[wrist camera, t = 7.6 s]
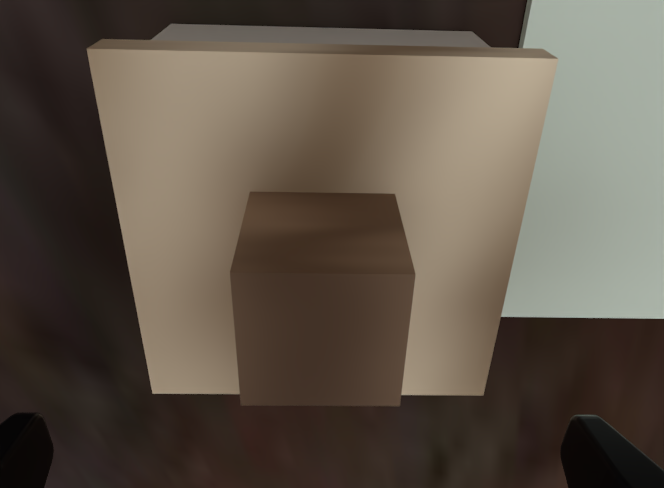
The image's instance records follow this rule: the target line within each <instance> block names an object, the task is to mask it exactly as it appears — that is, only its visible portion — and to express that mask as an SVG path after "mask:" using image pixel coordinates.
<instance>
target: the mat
mask: <svg viewBox="0 0 664 488" xmlns="http://www.w3.org/2000/svg"><path fill="white" fill-rule="evenodd" d="M519 48H536V49H544V50H546V51H547V52H549V53H550V54H552V55H553V56H555V57H556V58H558V63H557V68H556V72H555V77H554V81H553V86H552V90H551V95H550V99H549V104H548V108H547V112H546V117H545V121H544V126H543V130H542V135H541V139H540V144H539V148H538V153H537V157H536V162H535V166H534V171H533V175H532V180H531V184H530V189H529V193H528V198H527V202H526V206H525V211H524V215H523V220H522V224H521V229H520V233H519V238H518V242H517V247H516V251H515V256H514V260H513V265H512V269H511V274H510V278H509V283H508V287H507V292H506V296H505V301H504V305H503V309H502V314H501V317H566V318H654V319H664V0H527V5H526V10H525V16H524V21H523V26H522V32H521V37H520V42H519Z"/></svg>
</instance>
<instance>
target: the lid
mask: <svg viewBox="0 0 664 488" xmlns="http://www.w3.org/2000/svg"><path fill="white" fill-rule="evenodd" d="M87 54H88V59H89V64H90V69H91V75H92V80H93V85H94V90H95V95H96V101H97V106H98V111H99V116H100V122H101V127H102V132H103V137H104V142H105V148H106V153H107V158H108V163H109V169H110V174H111V179H112V184H113V189H114V195H115V200H116V205H117V210H118V216H119V221H120V226H121V231H122V236H123V242H124V247H125V252H126V257H127V263H128V268H129V273H130V278H131V283H132V289H133V294H134V299H135V304H136V310H137V315H138V320H139V325H140V331H141V336H142V341H143V346H144V351H145V357H146V362H147V367H148V372H149V378H150V383H151V388H152V393H153V394H240V403H241V405H261V406H400V400H401V395H484V390H485V386H486V381H487V377H488V372H489V368H490V363H491V359H492V354H493V350H494V345H495V341H496V336H497V332H498V327H499V323H500V318H501V314H502V309H503V305H504V301H505V296H506V292H507V287H508V283H509V278H510V274H511V269H512V265H513V260H514V256H515V251H516V247H517V242H518V238H519V233H520V229H521V224H522V220H523V215H524V211H525V206H526V202H527V198H528V193H529V189H530V184H531V180H532V175H533V171H534V166H535V162H536V157H537V153H538V148H539V144H540V139H541V135H542V130H543V126H544V121H545V117H546V112H547V108H548V104H549V99H550V95H551V90H552V86H553V81H554V77H555V72H556V68H557V63H558V58H556V57H555V56H553V55H552V54H550V53H549V52H547V51H546V50H544V49H536V48H490V47H444V46H398V45H352V44H305V43H259V42H213V41H167V40H120V39H102V40H100V41H98V42H97V43H95V44H94V45H92V46H90V47H89V48H87Z"/></svg>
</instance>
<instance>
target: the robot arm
mask: <svg viewBox="0 0 664 488" xmlns="http://www.w3.org/2000/svg"><path fill="white" fill-rule="evenodd" d="M53 451H54V450H53V443H52V440H51V437H50V434H49V431H48V428H47V425H46V422H45V419H44V417H43V416H42V415H41V414H40V413H16V414H14V415H12V416H10V417H9V418H8V419H6V420H5V421H4V422H2V423H1V424H0V488H44V486H45V483H46V479H47V476H48V473H49V469H50V466H51V463H52V459H53ZM561 461H562V465H563V469H564V472H565V476H566V480H567V484H568V488H664V470H663V469H662V468H660V467H659V466H658V465H657V464H656V463H654V462H653V461H652V460H651V459H650V458H648V457H647V456H646V455H645V454H644V453H643V452H641V451H640V450H639V449H638V448H637V447H635V446H634V445H633V444H632V443H631V442H629V441H628V440H627V439H626V438H625V437H623V436H622V435H621V434H620V433H619V432H617V431H616V430H615V429H614V428H613V427H612V426H610V425H609V424H608V423H607V422H606V421H604V420H603V419H602V418H600V417H599V416H596V415H574V416H573V417H572V418H571V419H570V422H569V425H568V427H567V430H566V433H565V436H564V439H563V442H562V445H561Z"/></svg>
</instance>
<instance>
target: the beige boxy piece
mask: <svg viewBox="0 0 664 488" xmlns="http://www.w3.org/2000/svg"><path fill="white" fill-rule="evenodd" d="M151 40H167V41H213V42H259V43H305V44H352V45H398V46H444V47H490V46H489V45H487V44H486V43H485V42H484V41H483V40H482V39H480V38H479V37H478V36H477V35H476V34H474V33H473V32H472V31H433V30H394V29H355V28H316V27H276V26H237V25H198V24H170V25H169V26H168V27H167V28H165V29H164V30H163V31H161V32H160V33H159V34H158V35H156V36H155V37H154V38H153V39H151ZM490 48H491V47H490Z"/></svg>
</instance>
